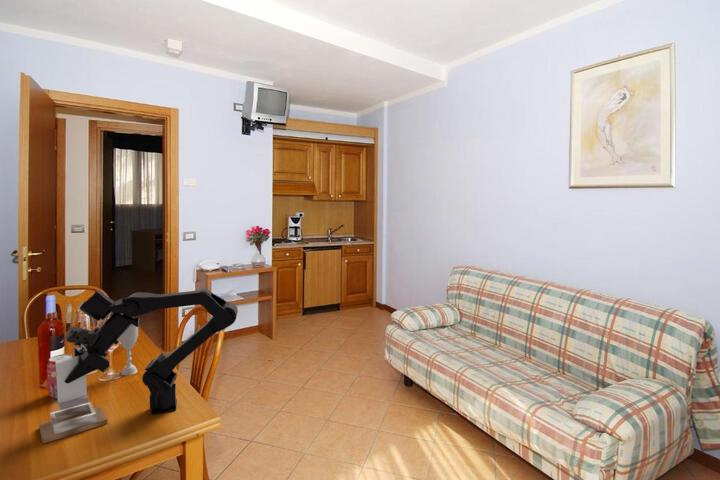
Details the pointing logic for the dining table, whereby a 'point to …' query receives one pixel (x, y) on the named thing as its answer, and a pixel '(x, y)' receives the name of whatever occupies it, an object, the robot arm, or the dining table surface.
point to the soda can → (52, 368)
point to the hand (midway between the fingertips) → (65, 380)
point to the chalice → (128, 343)
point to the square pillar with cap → (69, 385)
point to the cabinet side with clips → (71, 421)
